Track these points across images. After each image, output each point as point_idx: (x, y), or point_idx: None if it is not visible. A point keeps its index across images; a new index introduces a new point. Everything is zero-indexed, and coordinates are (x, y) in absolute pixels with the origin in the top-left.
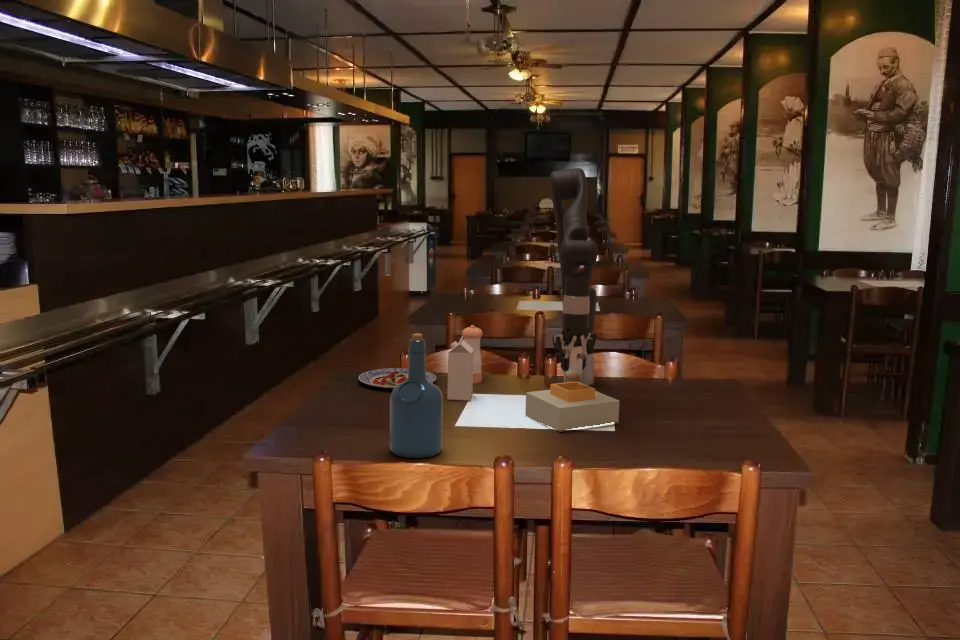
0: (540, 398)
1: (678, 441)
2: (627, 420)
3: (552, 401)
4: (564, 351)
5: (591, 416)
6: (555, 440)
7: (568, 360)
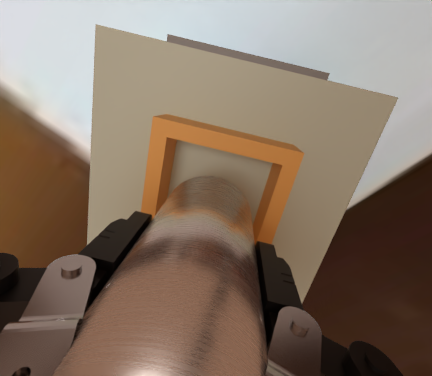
0: (95, 139)
1: None
2: (336, 251)
3: (110, 191)
4: (65, 315)
5: None
6: (85, 244)
7: None
